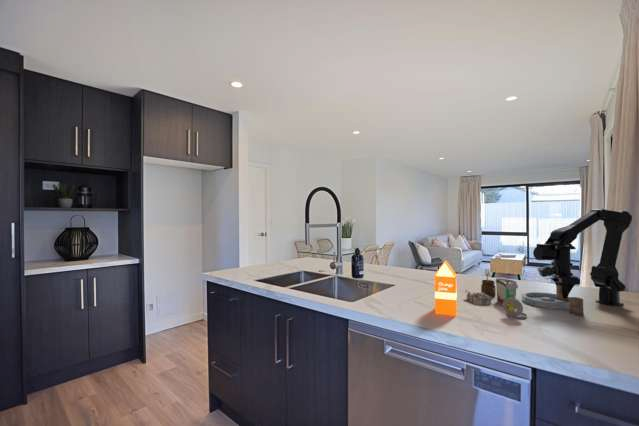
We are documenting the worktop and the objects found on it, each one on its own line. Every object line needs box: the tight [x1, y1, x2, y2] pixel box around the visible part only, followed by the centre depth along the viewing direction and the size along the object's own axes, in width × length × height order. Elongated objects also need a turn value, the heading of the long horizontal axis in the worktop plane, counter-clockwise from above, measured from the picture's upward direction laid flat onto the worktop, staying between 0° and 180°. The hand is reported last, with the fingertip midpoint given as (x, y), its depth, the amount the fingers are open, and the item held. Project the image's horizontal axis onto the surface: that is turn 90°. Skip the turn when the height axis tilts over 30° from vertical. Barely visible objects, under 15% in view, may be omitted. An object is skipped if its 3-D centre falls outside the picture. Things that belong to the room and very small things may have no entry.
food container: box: [495, 278, 519, 308], centre depth 131 cm, size 12×6×10 cm, turn 168°
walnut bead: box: [569, 296, 584, 317], centre depth 118 cm, size 4×4×6 cm
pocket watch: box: [502, 291, 528, 319], centre depth 115 cm, size 8×8×10 cm
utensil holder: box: [480, 268, 497, 298], centre depth 146 cm, size 6×6×12 cm
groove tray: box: [521, 291, 571, 310], centre depth 133 cm, size 18×18×2 cm
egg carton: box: [465, 290, 492, 306], centre depth 136 cm, size 11×8×4 cm
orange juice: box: [434, 259, 458, 317], centre depth 123 cm, size 8×9×20 cm
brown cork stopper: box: [555, 284, 569, 301], centre depth 131 cm, size 4×4×6 cm
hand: (562, 296), depth 131 cm, fingers closed on brown cork stopper, 4 cm apart
